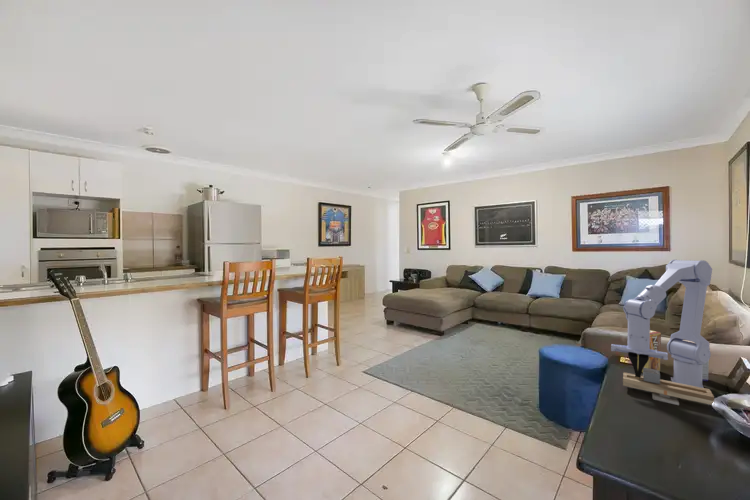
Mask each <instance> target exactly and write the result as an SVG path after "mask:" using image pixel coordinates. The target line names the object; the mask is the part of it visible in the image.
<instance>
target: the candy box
mask: <svg viewBox="0 0 750 500" xmlns="http://www.w3.org/2000/svg"><path fill="white" fill-rule="evenodd" d="M661 340H662V333H661V332H660V331H655V330H651V329H650V349H651V350H656V351H660V352H661V343H662V342H661ZM638 366H639V355H638V365H637V367H638ZM644 368H649V369H654V370H659V372H661V358H655V357H649V360H648V362H647V363H646V364H645V366H644ZM642 373H643V370H642Z"/></svg>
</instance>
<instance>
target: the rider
mask: <svg viewBox="0 0 750 500" xmlns="http://www.w3.org/2000/svg"><path fill="white" fill-rule="evenodd" d="M660 372H661V371H659V370H654V369H649V368H643V372H642V376H643V380H644V381H647V382H651V383H656V384H660V379H661V373H660Z"/></svg>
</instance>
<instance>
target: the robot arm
mask: <svg viewBox="0 0 750 500" xmlns="http://www.w3.org/2000/svg"><path fill="white" fill-rule="evenodd" d="M712 274H713V268H712V266H711V265H710V263H709V262H708V261H706V260H703V259H701V260H691V259H689V260H687V259H686V260H685V259H684V260H683V259H671V260H670V261H669V262H668V263H667V264H666V265H665V272H664V273H663V274H662V275H661V277H660V278H659V279H658V280H657V281H656V283H655V284H649V285H646V286H645V288H643V290H642V291H640V293H638V295H637V296H636V297H634V298H630V299H628V300H626V301H625V303H624V305H623V307H622V309H623V312H624V314H625V319H626V321H627V345H622V344H616V343H615V344H614V343H611V345H610V351H611V352H621V353H626V354H627V358H629V361H630V363H631V365H632V367H633V370H634V374H635V377H640V378H641V376H642V374H643V372H642V370H643V368H644V366H645V364H646V363H647V362H648V360H649V357H655V358H660V360H664V361H668V360H669V355H671V356H670V357H671V358H672V359H673V376H670V381H671V382H676V383H681V384H686V385H691V386H696V387H701V388H704V385H703V381H702V367H703V364H705V363H706V362H707V361H709V360H710V359H711V355H712V354H711V350H710V349H711V348H710V342H709V340H707V339H706V338H705V337H703V335H701V331H702V324H703V318H704V317H703V316H704V310H705V304H706V296H707V290H708V286H710V285H711V281H712ZM677 283H679V284H681V285H683V286H684V287H685V289H684V290H685V291H684V295H683V304H682V310H681V318H680V325H679V330H678V331H676V332H674V333H671V334H670V337H669V341H668V342H667V344H666V350H667V352H665V351H661V350H660V351H656V350H651V349H650V330H651V327H650V325H651V323H650V322H651V319H652V318H653V317H654V316H655V315H656V310H657V309H658V305H660V303H662V301H664V299H666V298H667V291H668V290H669V289H671V288H672V287H673V286H675V285H676V284H677ZM638 355H639V366H638V367H637V365H638ZM709 362H710V361H709Z"/></svg>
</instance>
